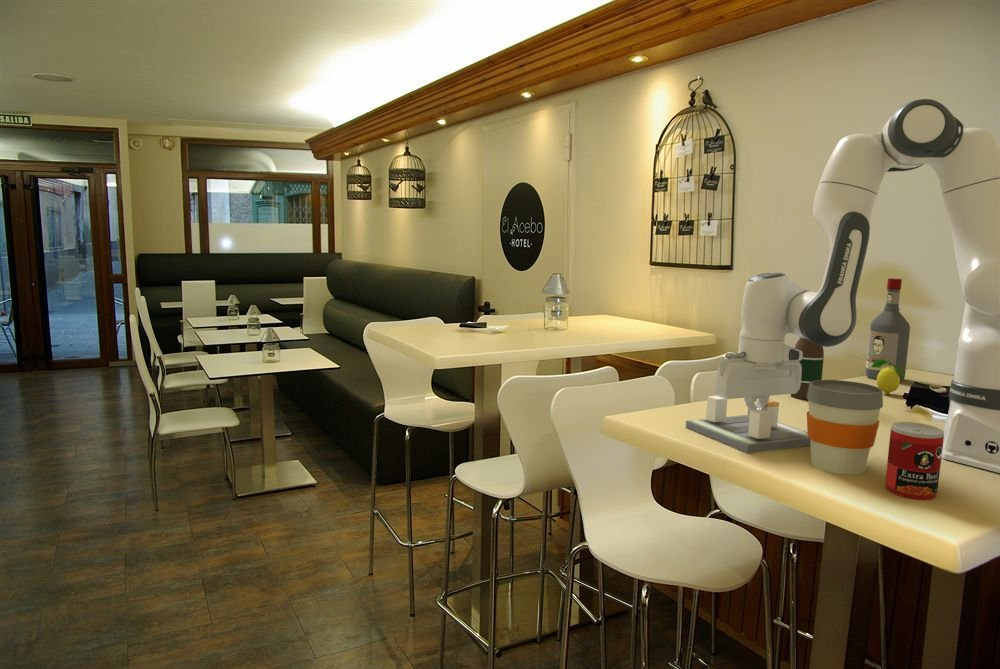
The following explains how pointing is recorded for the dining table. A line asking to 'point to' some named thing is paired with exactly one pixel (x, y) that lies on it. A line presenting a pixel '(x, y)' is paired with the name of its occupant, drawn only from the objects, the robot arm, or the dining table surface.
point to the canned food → (914, 460)
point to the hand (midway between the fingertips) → (755, 416)
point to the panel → (737, 435)
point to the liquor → (888, 334)
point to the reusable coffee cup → (842, 424)
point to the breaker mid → (773, 411)
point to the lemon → (888, 376)
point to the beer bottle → (809, 365)
